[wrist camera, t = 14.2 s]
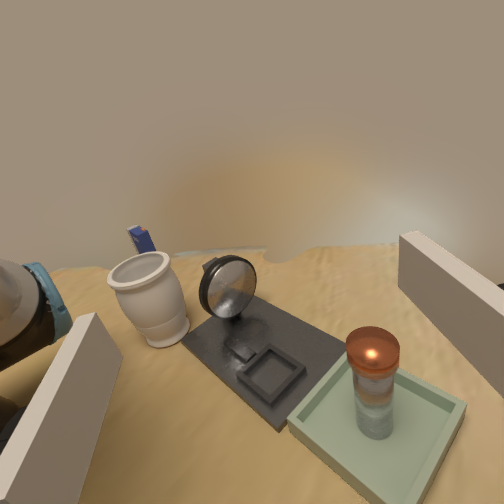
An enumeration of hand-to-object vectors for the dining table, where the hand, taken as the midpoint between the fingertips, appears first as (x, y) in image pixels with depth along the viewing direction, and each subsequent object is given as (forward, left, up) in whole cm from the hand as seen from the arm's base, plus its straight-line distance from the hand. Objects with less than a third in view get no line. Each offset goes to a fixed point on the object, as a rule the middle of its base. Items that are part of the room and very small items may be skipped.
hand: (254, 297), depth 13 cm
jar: (-39, +5, -30) cm, 50 cm away
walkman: (-65, +14, -30) cm, 73 cm away
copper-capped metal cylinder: (-2, +13, -29) cm, 32 cm away
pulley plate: (-22, +13, -30) cm, 40 cm away
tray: (-2, +13, -30) cm, 33 cm away
